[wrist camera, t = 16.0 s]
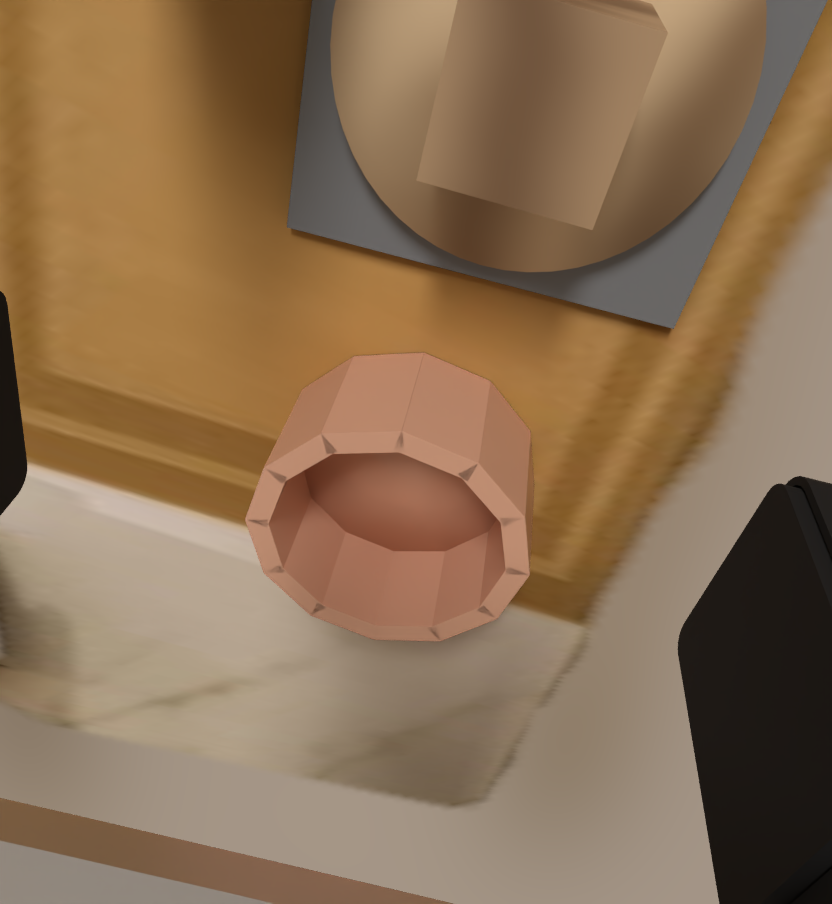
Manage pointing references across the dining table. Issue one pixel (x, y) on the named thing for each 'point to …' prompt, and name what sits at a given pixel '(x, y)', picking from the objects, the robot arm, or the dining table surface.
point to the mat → (595, 285)
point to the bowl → (398, 499)
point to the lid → (543, 117)
